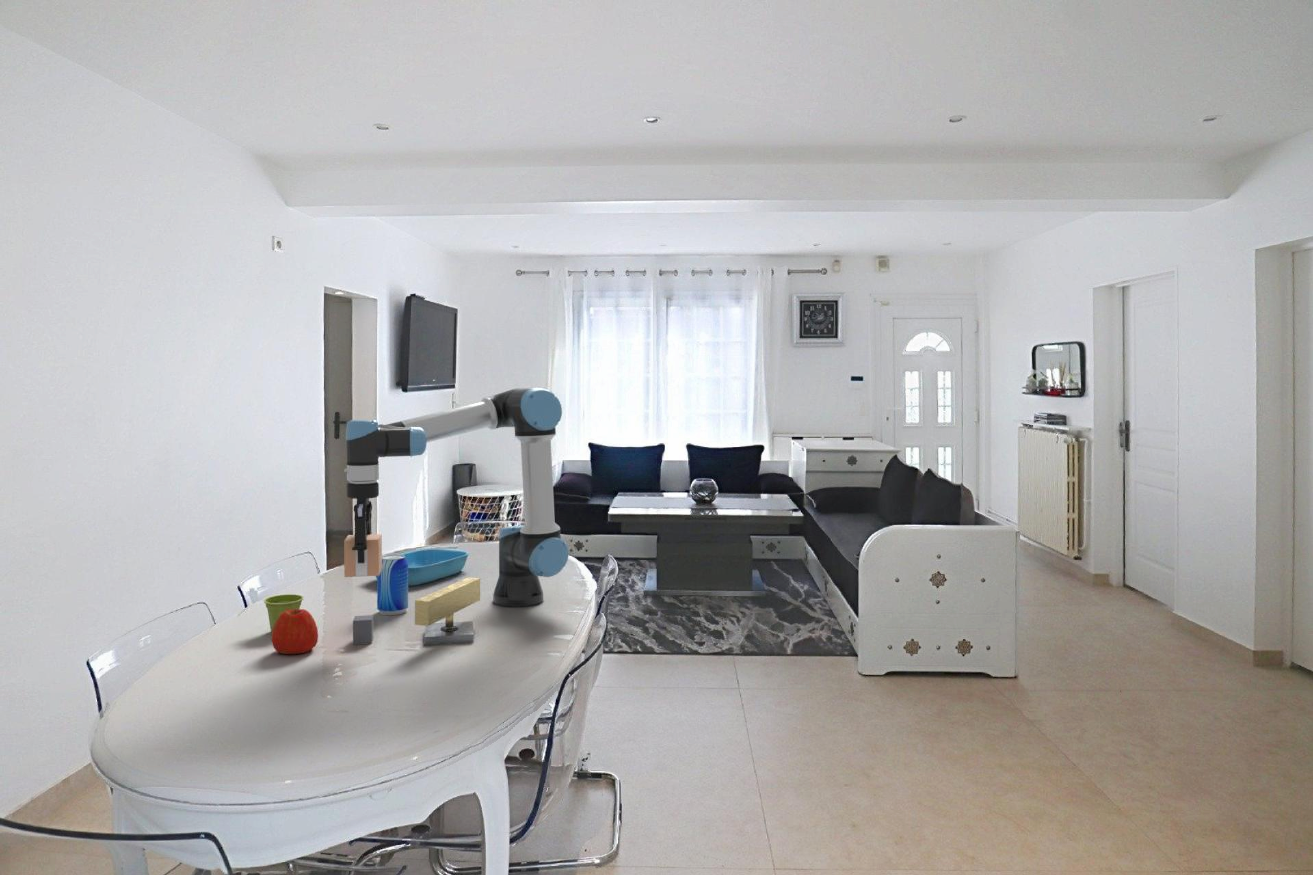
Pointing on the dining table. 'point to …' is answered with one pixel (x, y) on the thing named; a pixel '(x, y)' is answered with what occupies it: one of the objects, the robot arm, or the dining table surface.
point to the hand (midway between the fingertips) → (363, 571)
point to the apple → (294, 632)
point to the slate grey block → (363, 629)
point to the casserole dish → (433, 564)
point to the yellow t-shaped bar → (446, 602)
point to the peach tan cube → (372, 555)
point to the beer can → (392, 585)
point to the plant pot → (281, 606)
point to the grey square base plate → (449, 633)
